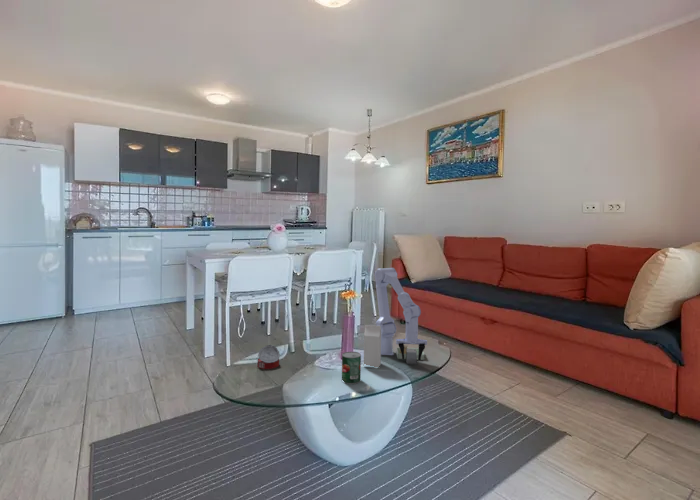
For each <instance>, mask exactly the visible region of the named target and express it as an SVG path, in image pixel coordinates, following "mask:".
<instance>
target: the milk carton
mask: <svg viewBox="0 0 700 500" xmlns="http://www.w3.org/2000/svg"><path fill="white" fill-rule="evenodd" d="M364 327H365V328H364V334H363V365H364V364H366V365H370V366H374V367H379V366H380V367H381V364H382V363H381V362H382V355H381V326H376V325H372V324H370V325H368V324H365V325H364ZM380 367H379V368H380Z"/></svg>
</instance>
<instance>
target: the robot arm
mask: <svg viewBox="0 0 700 500" xmlns="http://www.w3.org/2000/svg"><path fill="white" fill-rule="evenodd" d="M374 279H375V280H374V281H375V288H376V289H375V290H376V297H377V298H376V299H377V307H378V315H379V318H378V319H377V320H376V321H375V326H381V356H394V355H395V353H394V350H393V348H394V347H393V343H394V341H393V337H394V336H395V334H396V333H397V326H396V324H395V319H394V318H393V317H391V313H390V305H389V298H388V297H389V296H388V288H387V286H388V285H390V286H391V287H392V288H393V290H394V291H395V293H396V294H397V301H398V302H399V304H400V305H401V307H402V309H403V311H402V313H403V314H402V315H403V317H404V321H405V338H399V339H398V338H397V339H395V344H396V345H398V348H400V350H401V353H402V359H401V360H402V361H404V360H405V359H404V345H418V348H419V354H418V359H419V360H418V361H421V360H420V359H421V355H422V352H424V351H425V348H426V346H428V340H427V339H420V338H419V337H418V336H419V335H418V333H419V317H420V316H421V314H422V311H421V307H420V306H419V304H418V305H417V303H415V302H414V301H413V300H412V298H411V295H410V294H409V293H408V292H406V291H405V290H404V288H403V286H402V284H401V283H400V280H399V278H398V272H397V270H396V269H395V267H385V268H381V267H380V268H379V267H377V269H376V271H375V272H374Z"/></svg>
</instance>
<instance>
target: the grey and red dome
mask: <svg viewBox="0 0 700 500" xmlns="http://www.w3.org/2000/svg"><path fill="white" fill-rule="evenodd" d="M257 357H258V358H257V368H258V369H261V370H270V369H276V368H278V367H279V366H280V357H281V353H280V351H279V350H278V347H276V346H275V345H271V344H269V345H265V346H263V347H261V349H259V351H258V354H257Z"/></svg>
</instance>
